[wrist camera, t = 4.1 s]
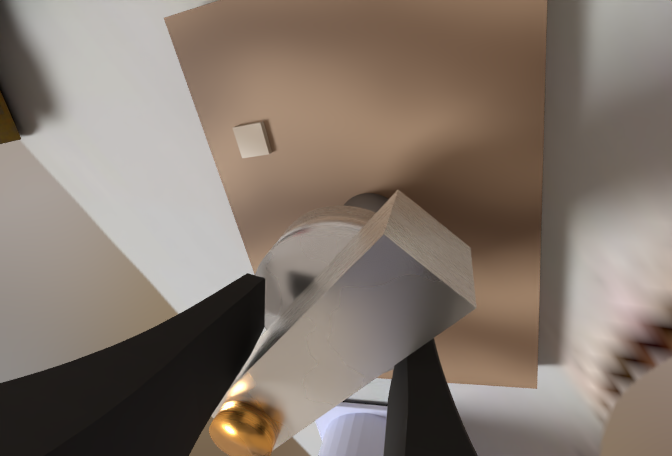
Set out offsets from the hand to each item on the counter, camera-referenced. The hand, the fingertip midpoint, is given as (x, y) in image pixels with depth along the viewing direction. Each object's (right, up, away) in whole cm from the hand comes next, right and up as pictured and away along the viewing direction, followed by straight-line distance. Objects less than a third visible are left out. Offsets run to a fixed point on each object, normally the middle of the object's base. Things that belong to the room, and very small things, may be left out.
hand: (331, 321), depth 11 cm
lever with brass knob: (+1, +1, +2) cm, 2 cm away
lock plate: (+2, +4, +7) cm, 8 cm away
